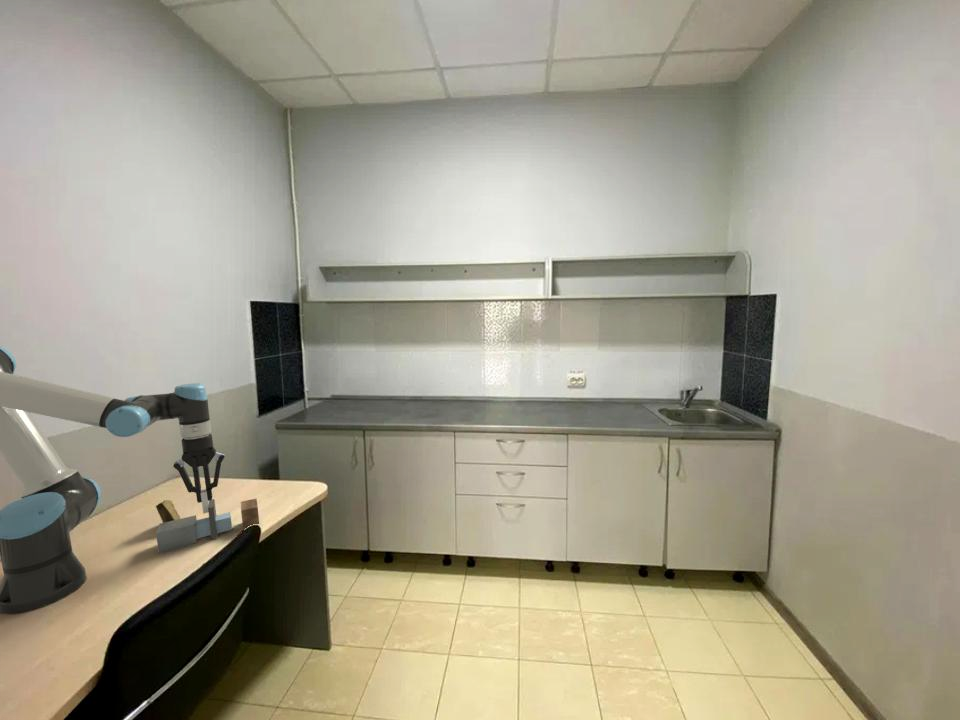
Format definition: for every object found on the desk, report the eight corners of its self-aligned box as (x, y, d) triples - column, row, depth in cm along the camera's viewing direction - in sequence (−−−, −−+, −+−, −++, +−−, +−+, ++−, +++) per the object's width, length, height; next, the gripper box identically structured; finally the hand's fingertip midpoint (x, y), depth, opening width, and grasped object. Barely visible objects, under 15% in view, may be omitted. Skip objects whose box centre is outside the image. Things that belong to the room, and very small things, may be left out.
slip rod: (158, 552, 117) (153, 520, 116) (161, 542, 123) (157, 511, 122) (231, 533, 127) (228, 503, 125) (231, 524, 132) (228, 495, 131)
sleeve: (158, 553, 118) (155, 533, 117) (162, 543, 123) (159, 523, 122) (196, 543, 122) (194, 524, 121) (198, 534, 128) (196, 515, 127)
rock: (160, 514, 137) (140, 525, 127) (176, 491, 138) (158, 501, 128) (189, 530, 138) (173, 542, 128) (205, 508, 139) (190, 518, 129)
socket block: (243, 532, 128) (241, 510, 127) (242, 522, 134) (240, 501, 133) (259, 527, 130) (257, 506, 129) (258, 518, 136) (256, 498, 135)
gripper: (167, 443, 116) (178, 522, 119) (222, 434, 123) (231, 509, 125) (171, 436, 122) (181, 512, 125) (222, 428, 129) (231, 500, 132)
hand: (206, 511), depth 125 cm, fingers closed
